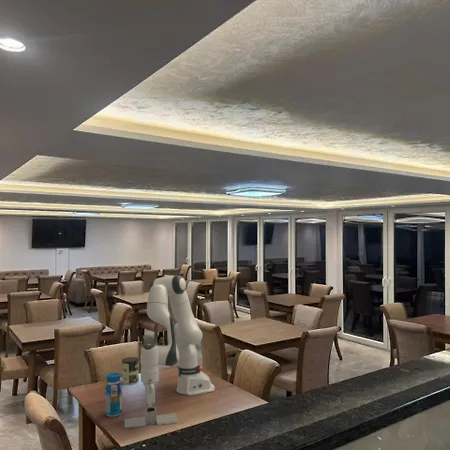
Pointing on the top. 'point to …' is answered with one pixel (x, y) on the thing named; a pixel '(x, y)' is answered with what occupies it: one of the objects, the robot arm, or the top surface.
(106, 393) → the beverage bottle
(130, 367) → the coffee can
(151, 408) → the pin
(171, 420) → the hinge leaves
